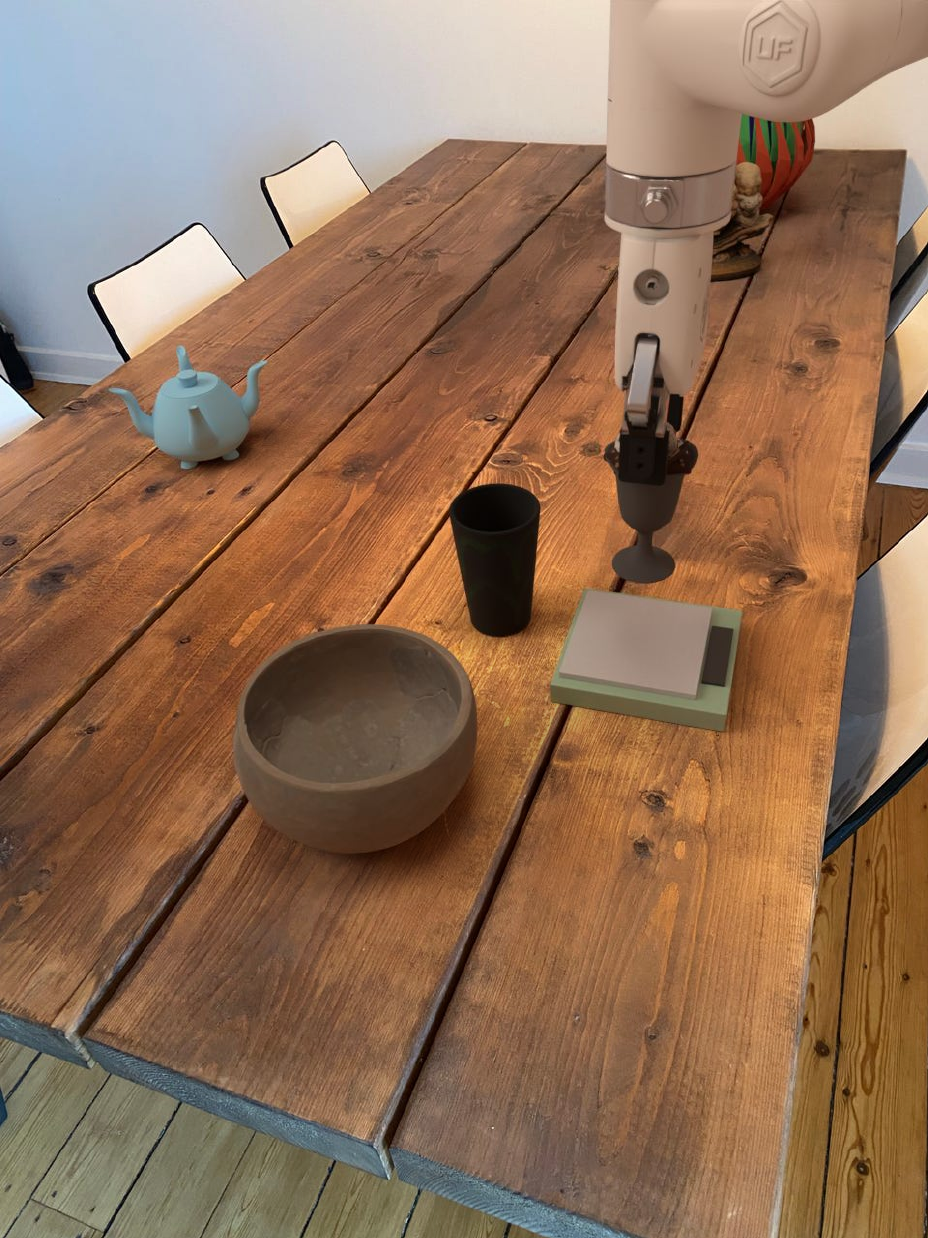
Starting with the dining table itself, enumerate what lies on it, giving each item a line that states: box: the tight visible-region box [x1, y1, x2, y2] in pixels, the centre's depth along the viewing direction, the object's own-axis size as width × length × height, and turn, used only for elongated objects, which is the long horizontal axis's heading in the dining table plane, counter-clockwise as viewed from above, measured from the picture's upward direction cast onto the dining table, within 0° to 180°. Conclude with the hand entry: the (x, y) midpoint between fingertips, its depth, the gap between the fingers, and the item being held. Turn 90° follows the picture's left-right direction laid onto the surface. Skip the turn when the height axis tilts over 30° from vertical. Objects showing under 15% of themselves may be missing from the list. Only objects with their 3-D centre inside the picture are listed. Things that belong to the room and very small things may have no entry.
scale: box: [549, 587, 743, 733], centre depth 80 cm, size 14×13×3 cm
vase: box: [736, 114, 816, 213], centre depth 160 cm, size 30×30×30 cm
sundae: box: [602, 421, 699, 585], centre depth 70 cm, size 7×7×15 cm
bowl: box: [232, 623, 478, 855], centre depth 69 cm, size 17×18×10 cm
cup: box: [448, 482, 541, 638], centre depth 83 cm, size 8×8×12 cm
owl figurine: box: [710, 162, 774, 282], centre depth 143 cm, size 18×12×17 cm, turn 88°
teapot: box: [108, 345, 268, 470], centre depth 111 cm, size 13×13×10 cm
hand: (650, 452), depth 68 cm, fingers closed on sundae, 6 cm apart
